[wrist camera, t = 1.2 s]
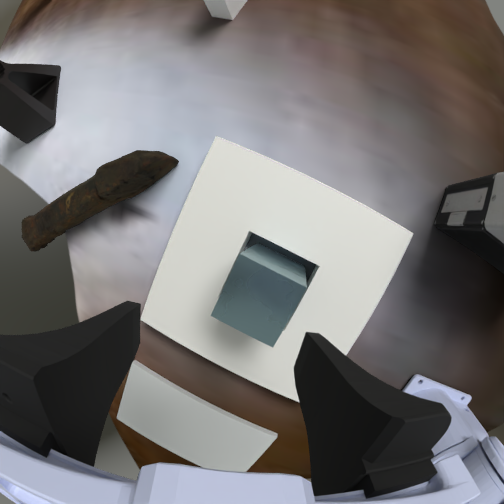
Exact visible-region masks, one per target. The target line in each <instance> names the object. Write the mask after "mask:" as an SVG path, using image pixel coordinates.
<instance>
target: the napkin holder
mask: <svg viewBox="0 0 504 504" xmlns="http://www.w3.org/2000/svg"><path fill="white" fill-rule="evenodd" d="M204 2H205V4H206V6H207V8H208V10H209V12H210V14H211V16H212V17H218V18H224V19H229V20H233V19H234V18H235V16H236V15H237V14H238V12H239V11H240V10H241V8H242V7H243V6H244V4H245V3H246V2H247V0H204Z"/></svg>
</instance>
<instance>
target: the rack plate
mask: <svg viewBox="0 0 504 504" xmlns="http://www.w3.org/2000/svg"><path fill="white" fill-rule="evenodd" d="M252 232H253V233H255V234H257V235H259V236H261V237H263V238H265V239H267V240H269V241H271V242H273V243H275V244H277V245H279V246H281V247H283V248H285V249H287V250H289V251H291V252H293V253H295V254H297V255H299V256H301V257H303V258H305V259H307V260H309V261H311V262H312V263H314V264H316V266H315V268H314V270H313V272H312V274H311V276H310V278H309V280H308V282H307V283H306V284H307V288H306V290H305V292H304V294H303V296H302V297H301V299H300V301H299V303H298V305H297V307H296V308H295V310H294V312H293V314H292V315H291V317H290V319H289V321H288V323H287V324H286V326H285V328H284V330H283V331H282V333H281V335H280V336H279V338H278V340H277V342H276V343H275V345H274V347H271V346H269V345H266V344H264V343H262V342H260V341H258V340H256V339H254V338H252V337H250V336H248V335H246V334H244V333H242V332H240V331H239V330H237V329H235V328H233V327H231V326H229V325H227V324H225V323H223V322H221V321H219V320H218V319H216V318H214V317H212V316H211V314H212V311H213V309H214V307H215V305H216V303H217V301H218V299H219V296H220V294H221V292H222V290H223V288H224V286H225V284H226V282H227V279H228V277H229V275H230V273H231V271H232V269H233V267H234V265H235V262H236V260H237V258H238V256H239V254H240V253H242V252H243V251H244V249H245V247H246V245H247V243H248V241H249V238H250V236H251V234H252ZM412 236H413V233H412V232H410V231H408V230H407V229H405V228H404V227H402V226H400V225H399V224H397V223H395V222H393V221H392V220H390V219H388V218H387V217H385V216H383V215H381V214H380V213H378V212H376V211H374V210H373V209H371V208H369V207H367V206H365V205H364V204H362V203H360V202H358V201H356V200H354V199H353V198H351V197H349V196H347V195H345V194H343V193H341V192H339V191H337V190H335V189H333V188H331V187H330V186H328V185H326V184H324V183H322V182H320V181H318V180H315V179H313V178H311V177H309V176H307V175H305V174H303V173H301V172H299V171H297V170H295V169H292V168H290V167H288V166H286V165H284V164H282V163H279V162H277V161H275V160H273V159H270V158H268V157H266V156H264V155H261V154H259V153H257V152H254V151H252V150H249V149H247V148H245V147H242V146H240V145H237V144H235V143H232V142H230V141H227V140H225V139H222V138H220V137H217V136H216V138H215V140H214V142H213V144H212V146H211V148H210V150H209V152H208V154H207V156H206V158H205V160H204V162H203V164H202V166H201V168H200V171H199V173H198V175H197V177H196V179H195V181H194V184H193V186H192V188H191V190H190V193H189V195H188V197H187V199H186V202H185V204H184V206H183V208H182V211H181V213H180V215H179V218H178V220H177V223H176V225H175V227H174V230H173V232H172V235H171V237H170V240H169V242H168V245H167V247H166V250H165V252H164V255H163V257H162V260H161V263H160V265H159V268H158V271H157V273H156V276H155V279H154V281H153V284H152V287H151V290H150V292H149V295H148V298H147V301H146V304H145V307H144V310H143V313H142V316H141V319H140V320H142V321H143V322H145V323H147V324H148V325H150V326H151V327H153V328H155V329H156V330H158V331H159V332H161V333H163V334H164V335H166V336H168V337H169V338H171V339H173V340H174V341H176V342H178V343H180V344H181V345H183V346H185V347H187V348H188V349H190V350H192V351H194V352H195V353H197V354H199V355H201V356H203V357H205V358H206V359H208V360H210V361H212V362H214V363H216V364H218V365H220V366H222V367H224V368H225V369H227V370H229V371H231V372H233V373H235V374H237V375H239V376H241V377H244V378H246V379H248V380H250V381H252V382H254V383H256V384H258V385H260V386H263V387H265V388H267V389H269V390H271V391H274V392H276V393H278V394H281V395H283V396H285V397H288V398H290V399H292V400H295V401H297V402H299V398H298V394H297V391H296V386H295V378H294V365H295V362H296V359H297V356H298V354H299V351H300V348H301V345H302V342H303V339H304V336H305V333H306V332H313V333H319V334H321V335H322V336H323V337H325V338H326V339H327V340H328V341H329V342H331V343H332V344H333V345H334V346H335V347H336V348H337V349H339V350H340V351H341V352H342V353H343V354H344V355H347V353H348V352H349V350H350V349H351V347H352V346H353V344H354V342H355V341H356V339H357V338H358V336H359V335H360V333H361V331H362V330H363V328H364V326H365V325H366V323H367V321H368V320H369V318H370V316H371V315H372V313H373V311H374V310H375V308H376V306H377V304H378V303H379V301H380V299H381V297H382V295H383V294H384V292H385V290H386V288H387V286H388V284H389V283H390V281H391V279H392V277H393V275H394V273H395V271H396V269H397V267H398V265H399V263H400V261H401V259H402V257H403V255H404V253H405V251H406V249H407V247H408V244H409V242H410V240H411V238H412Z"/></svg>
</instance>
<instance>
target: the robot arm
mask: <svg viewBox="0 0 504 504" xmlns="http://www.w3.org/2000/svg"><path fill="white" fill-rule="evenodd" d="M140 307H141V304H139V303H135V302H130V301H126V302H124V303H121V304H119V305H117V306H115V307H113V308H111V309H109V310H107V311H105V312H103V313H101V314H99V315H97V316H94V317H92V318H90V319H87V320H85V321H83V322H80V323H78V324H75V325H72V326H69V327H65V328H62V329H58V330H53V331H49V332H43V333H38V334H29V335H0V492H1V493H2V494H3V495H5V496H6V497H7V498H9V499H10V500H12V501H13V502H15V503H16V504H504V446H503V444H502V443H501V442H500V441H499V440H498V439H497V438H496V437H489V436H488V434H487V432H486V431H485V429H484V428H483V427H482V425H481V424H480V422H479V421H478V420H477V418H476V417H475V416H474V414H473V413H472V412H471V410H470V409H469V408H468V406H467V404H468V403H469V402H470V400H471V396H470V395H468V394H466V393H463V392H461V391H458V390H456V389H453V388H451V387H448V386H446V385H443V384H441V383H438V382H436V381H433V380H431V379H428V378H426V377H424V376H421V375H419V374H417V375H414V376H413V377H412V378H411V380H410V381H409V382H408V384H407V385H406V386H405V388H404V389H403V390H402V391H401V390H399V389H396V388H394V387H392V386H390V385H388V384H386V383H384V382H383V381H381V380H379V379H377V378H376V377H374V376H373V375H371V374H369V373H368V372H366V371H365V370H364V369H362V368H361V367H359V366H358V365H357V364H355V363H354V362H353V361H352V360H350V359H349V358H348V357H347V356H346V355H344V354H343V353H342V352H341V351H340V350H339V349H337V348H336V347H335V346H334V345H333V344H332V343H331V342H329V341H328V340H327V339H326V338H325V337H323V336H322V335H321V334H319V333H313V332H306V333H305V336H304V339H303V342H302V345H301V348H300V351H299V354H298V356H297V359H296V362H295V365H294V378H295V386H296V391H297V394H298V398H299V402H300V406H301V410H302V413H303V417H304V421H305V425H306V429H307V435H308V443H309V452H310V464H311V482H309V481H308V480H306V479H304V478H303V477H301V476H299V475H292V474H283V473H253V472H238V471H226V470H217V469H209V468H202V467H195V466H189V465H183V464H173V463H162V462H160V463H155V464H150V465H146V466H143V467H142V468H141V470H140V472H139V474H138V478H137V481H135V480H132V479H129V478H125V477H122V476H118V475H115V474H112V473H109V472H106V471H103V470H101V469H98V468H95V467H94V463H95V458H96V454H97V449H98V445H99V441H100V437H101V434H102V431H103V427H104V424H105V421H106V418H107V415H108V412H109V409H110V406H111V404H112V401H113V399H114V397H115V395H116V393H117V391H118V389H119V387H120V385H121V383H122V381H123V379H124V378H125V376H126V374H127V372H128V370H129V368H130V366H131V364H132V362H133V360H134V358H135V355H136V352H137V350H138V347H139V344H140ZM420 380H421V381H420ZM419 381H420V382H419ZM311 484H312V485H311Z"/></svg>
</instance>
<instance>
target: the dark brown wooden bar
mask: <svg viewBox="0 0 504 504" xmlns="http://www.w3.org/2000/svg"><path fill="white" fill-rule="evenodd" d="M178 162H179V161H178V160H177V159H176V158H174V157H172V156H169V155H167V154H166V153H163V152H160V151H141V150H136V151H134V152H132V153H130V154H127V155H125V156H122V157H121V158H119V159H116V160H114V161H111V162H108V163H106V164H104V165H102V166H101V167H99V168H98V169H97V171H96V174H95V175H94V176H93V177H91V178H90V179H88V180H87V181H85V182H84V183H81V184H79V185H78V186H76V187H75V188H73V189H71V190H70V191H68V192H66V193H65V194H63V195H62V196H60V197H59V198H57V199H56V200H55V201H53V202H52V203H50V204H49V205H47V206H46V207H44V208H43V209H42V210H41V211H40V212H38V213H37V214H35V215H34V216H28V217H26V218H24V219H23V220H22V238H23V240H24V242H25V243H26V244H27V246H28V247H29V249H30V250H31V251H38V250H40V249H41V248H45V247H46V246H47V244H48V243H50V242H52V241H53V240H54V239H55V238H56V237H57V236H60V235H62V234H63V233H65V232H66V230H68V229H70V228H71V227H74V226H76V225H78V224H80V223H82V222H83V221H84V220H86V219H88V218H90V217H91V216H93V215H95V214H97V213H99V212H101V211H103V210H104V209H106V208H108V207H110V206H112V205H114V204H116V203H118V202H120V201H122V200H125V199H128V198H132V197H134V196H136V195H138V194H139V193H141V192H143V191H144V190H146V189H147V188H149V187H150V186H151V185H152V184H154V183H155V182H156V181H158V180H159V179H160V178H162V177H163V176H164V175H166V174H167V173H168V172H169V171H170V170H171V169H172V168H174V167H175V166H176V165H177V164H178Z"/></svg>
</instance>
